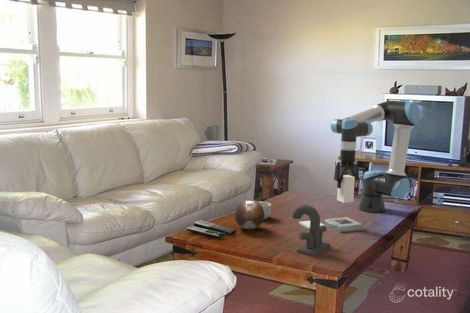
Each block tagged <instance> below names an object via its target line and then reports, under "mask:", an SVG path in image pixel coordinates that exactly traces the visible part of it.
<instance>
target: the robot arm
mask: <svg viewBox="0 0 470 313" xmlns="http://www.w3.org/2000/svg"><path fill="white" fill-rule="evenodd" d="M421 113H422V112H421V109H420V106H419V105H418V103H416V102H413V101H406V100H405V101H402V100H388V101H383V102H381V103H378V104H375V105H372V107H371V108H369V109H366V110H364V111H361V112H359V113H355V114H353V115H350V116H348V117H345V118H342V119H340V118H334V119H333V120H332V121H331V123H330V130H331V131H332V132H333V133H334V134H338V135H339V134H341V140H340V159H339V160H336V161H334V165H335V166H334V176H333V179H334V180H333V181H336V182H337V184H336V188H337V189H338V194H340V195H342V188H343V182H341V181H342V178H343V175H345V172H346V170H347V168H348V173H349V175H350V176H353V177H355V182H357V180H359V179H360V178H359V175H360V174H359V171H360V170H359V168H360V166H359V165H360V163H361V161H360V160H358V159H356V153H357V152H356V149H357V138H360V137H368V136H370V135H371V134H372V133H373V131H374V130H373V124H372V123H375V122H382V121H387V122H388V121H389V122H392V126H393V127H394V132H393V133H394V134H393V138H392V145H391V153H390V158H389V163H388V164H389V165H388V169H387V170H386V171H385V170H384V171H383V170H368V171H367V170H366V171H364V173H363V178H362V181H363V182H362V193H361V194H362V195H361V198H360V201H359V203H358V210H360V211H362V212H365V213H366V212H367V213H373V214H374V213H375V214H377V213H383V212H385V210H386V206H385V202H384V197H383V196H387V197H391V198H392V199H393V198H397V199H402V198H404V197H405V196H406V195H407V194H408V192H409V188H410V180H409V179H408V178H407V174H406V172H405V170H406V169H405V168H406V163H407V158H408V157H407V156H408V150H409V145H410V143H409V142H410V137H411V131H412V129H414V127H415V125H416V124H418V123H419V121H420V120H421ZM355 184H356V183H355ZM355 184H354V187H355Z"/></svg>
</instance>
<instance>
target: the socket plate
mask: <svg viewBox="0 0 470 313" xmlns="http://www.w3.org/2000/svg"><path fill="white" fill-rule="evenodd" d="M323 224H324V225H325V226H326V227H328V228H330V229H332V230H334V231H336V232H338V233H347V232H355V231H356V232H357V231H363V230H364V229H363V228H364V224H363V223H361V222H359V221H357V220H354V219H352V218H350V217H348V216H343V217H335V218H334V217H333V218H324V223H323Z"/></svg>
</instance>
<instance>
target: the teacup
mask: <svg viewBox="0 0 470 313" xmlns="http://www.w3.org/2000/svg"><path fill="white" fill-rule="evenodd" d="M257 202H258V203H259V204H260V205H261V206H262V207H263V210H264V219H263V220H266V219H269V217H270V216H271V214H272V213H271V212H272V203H270V202H268V201H261V200H260V201H257Z"/></svg>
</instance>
